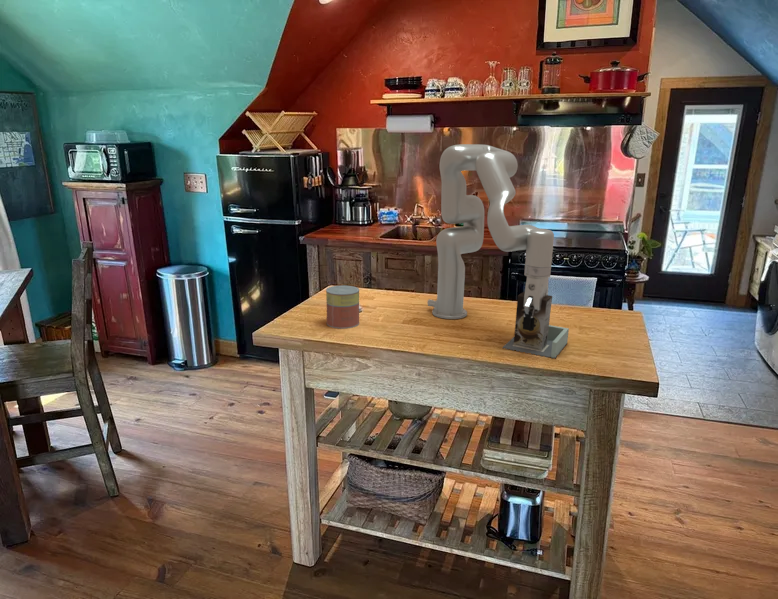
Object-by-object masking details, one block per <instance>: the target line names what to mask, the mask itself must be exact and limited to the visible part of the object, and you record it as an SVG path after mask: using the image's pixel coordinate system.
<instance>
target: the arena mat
mask: <svg viewBox="0 0 778 599" xmlns="http://www.w3.org/2000/svg"><path fill="white" fill-rule="evenodd" d="M552 342H553V341H551V340H547V345H546V346H545V348H544V349H543V350H542V351H540V350H536V349H531V348H526V347H521V346H517V345H514V336H513V337H512V338H511V339H509V341H508V342H506V343H505V344H504V345H503V346H502V349H504V348H505V349H504V350H509V349H510V351H514V350H516V351H515V352H519V351H520V353H523V352H525V354H528V353H531V354H530V355H533V354H535V355H534V356H538V355H540V356H539V357H543V356H545V357H544V358H548V357H551V352H552ZM567 344H568V342H567V343H566V345H567ZM565 347H566V346H564V348H565ZM564 348H562V350H564ZM561 352H562V351H560V353H561ZM557 357H558V356H556V358H557ZM554 358H555V357H554ZM556 358H555V359H556ZM550 359H553V358H552V357H551V358H550Z"/></svg>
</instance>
